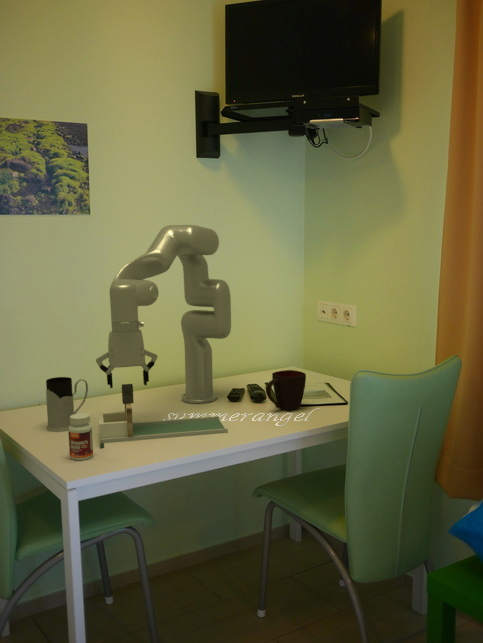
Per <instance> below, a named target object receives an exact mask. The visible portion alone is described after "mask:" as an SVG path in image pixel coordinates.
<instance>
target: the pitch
mask: <svg viewBox="0 0 483 643" xmlns="http://www.w3.org/2000/svg"><path fill="white" fill-rule="evenodd" d="M132 423H133V436H128V430H127V421H125V410H124V411H109V412H100V413H99V412H98V427H99V445H100V449H105V444H109V443H110V444H112V443H122V442H133V441H134V442H136V441H145V440H157V439H171V438H179V437H193V436H204V435H205V436H206V435H216V434H217V435H218V434H227V433H228V434H229V432H228V431H229V430H228V428H225V427H224V425H223V424H222V422H221V420H220V415H213V416H202V417H201V416H200V417H188V418H176V419H175V418H174V419H164V420H163V419H162V420H161V419H160V420H151V421H150V420H149V421H136V422H132Z"/></svg>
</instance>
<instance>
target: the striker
mask: <svg viewBox="0 0 483 643" xmlns="http://www.w3.org/2000/svg"><path fill="white" fill-rule="evenodd" d="M121 396H122V397H121V400H122V404H123V405H124V411H125V421H127V430H128V436H133V423H134V422H133V407H132V404H134V402H135V401H134V385H133V383H126V384H125V383H124V384H122V383H121Z"/></svg>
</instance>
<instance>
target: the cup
mask: <svg viewBox="0 0 483 643" xmlns="http://www.w3.org/2000/svg"><path fill="white" fill-rule="evenodd" d="M271 375H272V377H271V378H272V379H271V380H270V381H269V382H268V383H267V385H266V388H265V394H266V396H267V398H268V399H269V400H270V401H271V402H272V403H274V404H275V405H277V407H278V409H279V410H282V411H284V412H295V411H298V410H299V409H300V407H301V405H302V401H303V399H304V393H305V389H306V388H305V387H306V382H307V374H306V373H305V372H303V371H299V370H295V369H293V370H292V369H287V370H285V369H284V370H280V371H279V370H278V371H274V372H272V373H271ZM272 387H273V392H274V396H275V400H274V399H273V397H272V393H271V392H272V391H271V390H272Z"/></svg>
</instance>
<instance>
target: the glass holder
mask: <svg viewBox="0 0 483 643" xmlns="http://www.w3.org/2000/svg"><path fill="white" fill-rule="evenodd" d="M72 380H73V379H72V378H71V377H68V376H67V377H66V376H57V377H51V378H48V379H46V380H45V385H46V386H45V387H46V388H45V395H46V398H45V400H46V413H47V427H46V430H47V431H48V432H52V433H53V432H54V433H64V432H68V428H69V426H70V425H72V424H70V416H71V415H73V414H77V412H79V410H80V409H81V408H82V406H83V405H84V404H85V402H86V399H87V398H88V393H89V392H88V391H89V385H88V382H87V380H85V379H83V378H81V379H78V380H77V381H76V382H75V383H74V392H73V381H72ZM81 381H82V382H84V383H85V394H84V396H83V400H82V402H81V403H80V405H79V406H78V407H77V408H76V409H75V410H74V406H75V405H74V395H76V394H77V387H78V384H79V383H80V382H81Z"/></svg>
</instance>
